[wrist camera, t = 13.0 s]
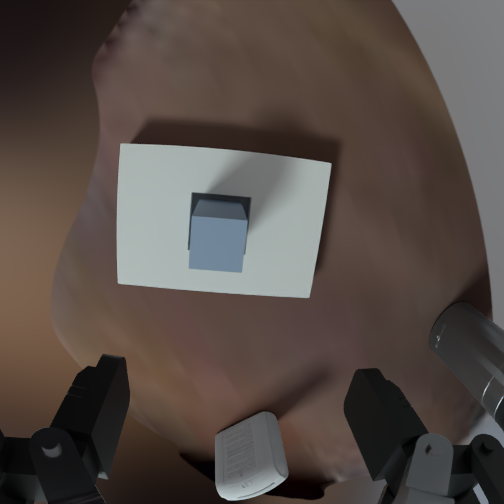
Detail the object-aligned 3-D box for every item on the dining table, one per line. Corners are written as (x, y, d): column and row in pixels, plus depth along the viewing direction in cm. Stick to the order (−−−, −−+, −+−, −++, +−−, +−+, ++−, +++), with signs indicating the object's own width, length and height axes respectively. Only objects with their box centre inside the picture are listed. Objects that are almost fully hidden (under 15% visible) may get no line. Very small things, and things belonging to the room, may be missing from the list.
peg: (240, 201, 32) (247, 220, 23) (236, 240, 33) (241, 272, 24) (200, 197, 31) (191, 216, 22) (197, 237, 32) (188, 268, 24)
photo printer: (228, 446, 44) (232, 509, 32) (210, 434, 43) (211, 500, 31) (282, 419, 43) (297, 485, 31) (265, 405, 42) (278, 475, 30)
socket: (322, 162, 32) (331, 163, 29) (302, 286, 36) (309, 297, 33) (129, 144, 30) (120, 143, 27) (125, 272, 34) (118, 283, 31)
